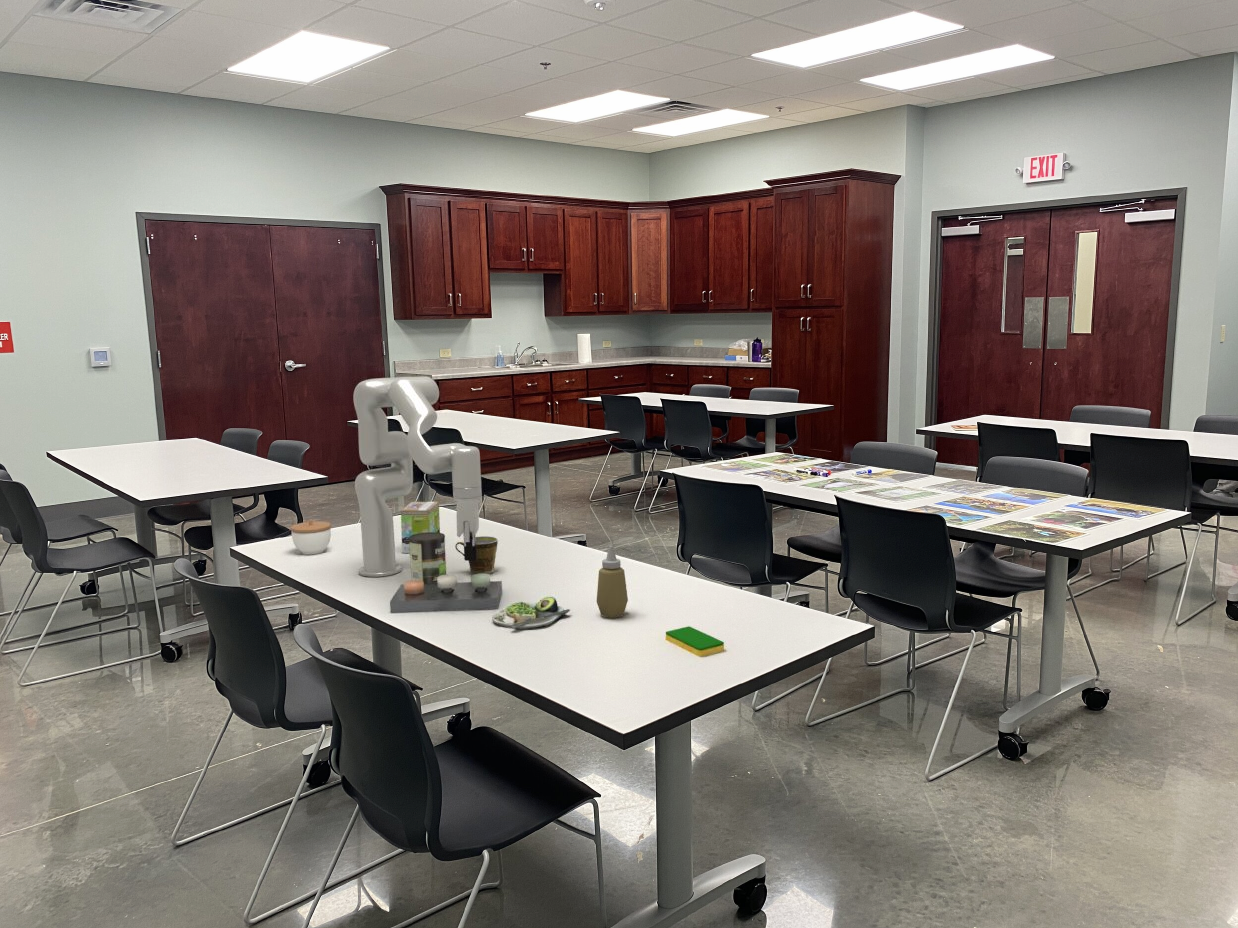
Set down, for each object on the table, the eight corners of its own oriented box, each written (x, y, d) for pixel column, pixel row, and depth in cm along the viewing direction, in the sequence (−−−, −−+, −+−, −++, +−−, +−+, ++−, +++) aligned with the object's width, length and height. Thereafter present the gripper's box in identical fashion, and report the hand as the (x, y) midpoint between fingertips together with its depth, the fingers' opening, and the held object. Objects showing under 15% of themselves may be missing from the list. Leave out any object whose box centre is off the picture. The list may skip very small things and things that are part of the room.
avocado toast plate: (542, 637, 223) (541, 619, 222) (477, 629, 230) (477, 611, 229) (575, 613, 241) (575, 596, 240) (514, 606, 247) (514, 590, 247)
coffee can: (452, 578, 274) (450, 532, 272) (439, 588, 264) (436, 540, 262) (420, 577, 276) (417, 531, 274) (405, 587, 266) (402, 539, 264)
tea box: (432, 553, 305) (429, 509, 302) (401, 553, 305) (399, 509, 303) (441, 542, 320) (439, 500, 317) (412, 542, 320) (409, 500, 317)
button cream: (439, 593, 254) (438, 574, 253) (458, 593, 254) (457, 574, 253) (436, 599, 249) (435, 580, 248) (456, 598, 249) (455, 579, 248)
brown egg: (406, 599, 254) (405, 580, 253) (426, 599, 254) (424, 579, 253) (403, 605, 249) (402, 586, 248) (423, 604, 249) (421, 585, 248)
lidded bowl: (317, 545, 318) (314, 514, 317) (340, 550, 311) (338, 518, 309) (284, 553, 308) (282, 521, 306) (308, 558, 301) (305, 525, 299)
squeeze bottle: (605, 621, 233) (603, 552, 230) (591, 612, 240) (589, 545, 237) (633, 616, 236) (632, 547, 233) (619, 607, 243) (617, 541, 241)
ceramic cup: (502, 567, 285) (501, 536, 283) (494, 576, 275) (493, 544, 273) (461, 567, 286) (459, 536, 285) (452, 576, 276) (450, 543, 275)
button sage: (472, 592, 254) (471, 573, 254) (491, 592, 255) (490, 573, 254) (470, 598, 249) (469, 578, 248) (490, 597, 250) (489, 578, 249)
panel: (401, 594, 259) (401, 584, 259) (502, 591, 260) (501, 581, 260) (390, 612, 243) (389, 601, 243) (497, 609, 245) (497, 598, 244)
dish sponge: (699, 658, 208) (699, 648, 207) (664, 641, 219) (664, 631, 219) (724, 652, 211) (724, 641, 211) (689, 635, 223) (689, 625, 222)
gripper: (457, 488, 255) (460, 553, 257) (449, 498, 240) (452, 567, 243) (484, 487, 255) (487, 552, 257) (478, 497, 240) (481, 566, 243)
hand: (470, 559), depth 250 cm, fingers closed
